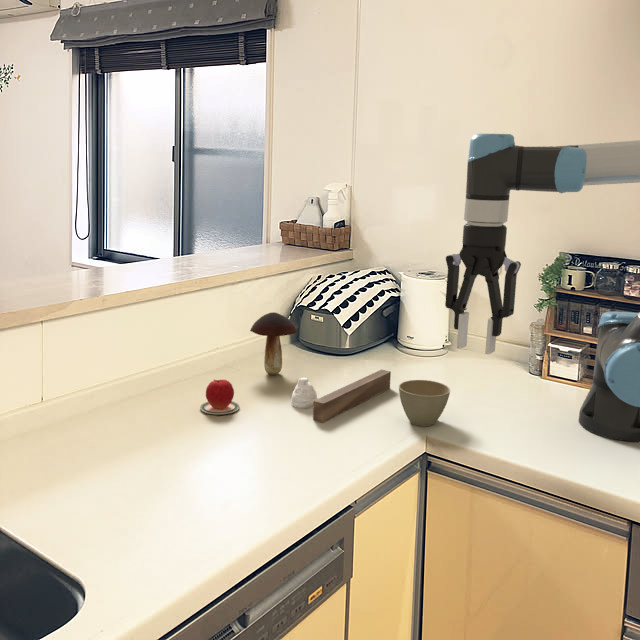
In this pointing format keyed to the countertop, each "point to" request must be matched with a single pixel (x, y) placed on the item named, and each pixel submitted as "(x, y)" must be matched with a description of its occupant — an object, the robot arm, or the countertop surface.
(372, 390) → the board
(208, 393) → the apple
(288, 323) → the decorative mushroom
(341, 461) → the countertop surface
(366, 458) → the countertop surface
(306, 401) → the garlic bulb
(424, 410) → the flower pot
